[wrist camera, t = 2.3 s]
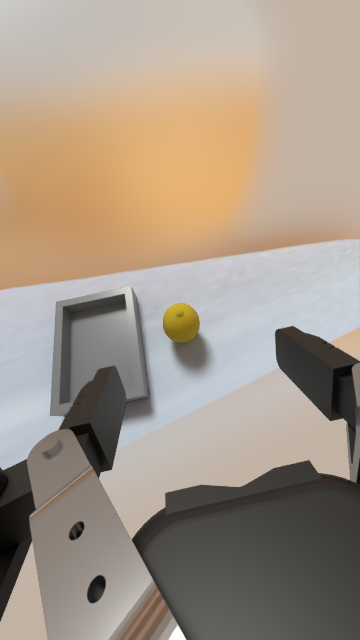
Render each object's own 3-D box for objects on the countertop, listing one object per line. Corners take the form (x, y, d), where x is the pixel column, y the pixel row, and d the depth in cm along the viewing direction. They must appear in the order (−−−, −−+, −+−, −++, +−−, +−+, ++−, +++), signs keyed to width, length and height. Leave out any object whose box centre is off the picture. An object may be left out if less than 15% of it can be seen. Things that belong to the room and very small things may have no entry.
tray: (64, 415, 32) (50, 415, 29) (67, 310, 39) (56, 302, 36) (149, 397, 32) (144, 395, 29) (136, 296, 39) (131, 286, 36)
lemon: (162, 344, 35) (153, 326, 28) (171, 314, 37) (165, 290, 30) (194, 352, 34) (194, 335, 27) (202, 321, 36) (204, 298, 29)
